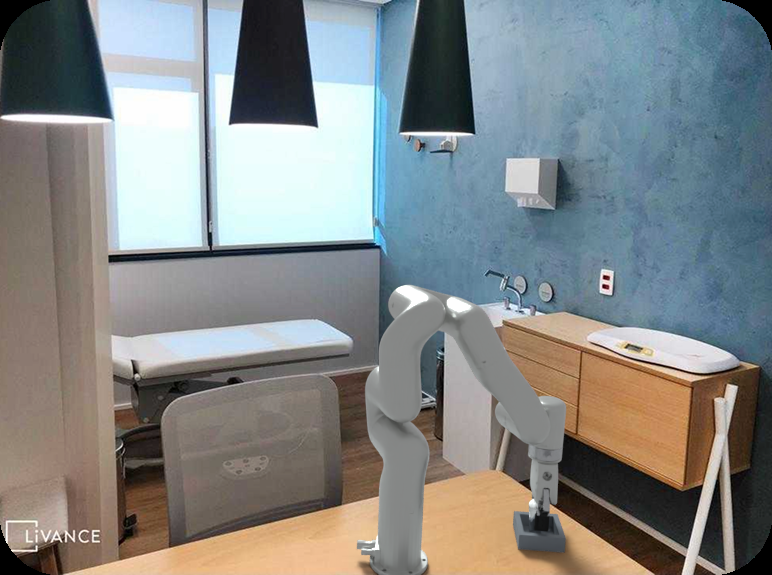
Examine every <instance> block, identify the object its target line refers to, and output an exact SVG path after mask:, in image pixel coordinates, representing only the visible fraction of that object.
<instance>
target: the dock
mask: <svg viewBox="0 0 772 575" xmlns="http://www.w3.org/2000/svg"><path fill="white" fill-rule="evenodd" d="M512 519H513V520H512V526H513V527H512V528H513V531H514V536H515V540H516V545H517V549H518V550H526V551H537V552H538V551H539V552H552V553H553V552H554V553H563V554H564V553H565V551H566V550H565V549H566V539H567V537H566V534H565V532H564V529H563V526H562V524H561V520H560V518H559V514H557V513H550V518H549V529H548V531H544V534H541V533H529V511H518V510H514V511H513V518H512Z"/></svg>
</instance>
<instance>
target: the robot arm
mask: <svg viewBox="0 0 772 575" xmlns="http://www.w3.org/2000/svg"><path fill="white" fill-rule="evenodd" d="M387 304H388V305H387V306H388V311H389V313H390V315H391V316H392V318H393V321H392V322H391V323H390V324H389V325H388V326H387V328H386V330H385V331H384V333H383V335H382V337H381V339H380V342H379V345H378V366H376V367H374V369H372V370H371V371H370V373H369V375H368V376H367V379H366V381H365V387H364V396H365V397H364V398H365V412H366V426H367V433H368V437H369V440H370V442H371V444H372V445H373V447H374V448H375V450H376V451H377V452H378V454H379V455H380V457H381V458H382V461H383V466H382V467H383V468H382V470H381V475H380V480H379V488H378V513H377V514H378V519H377V535H376V539H372V540H365V539H364V540H363V539H357V541H356V550H360V556H369V566H370V567H371V569H372V570H373V571H374V572H375V573H376V574H378V575H422V574H423V573H425V571H426V570H427V568H428V561H429V559H428V555H427V554H426V553H425V551H423V549H422V543H423V542H422V540H423V523H424V522H423V519H424V501H425V498H424V497H425V496H424V495H425V481H426V475H427V470H428V466H429V462H430V453H431V452H430V447H429V443H428V441H427V439H426V437H425V435H424V434H423V433H422V431H421V430H420V429H419V428H418V427H417V426H416V425H415V424H414V423H413V422H412V421H414V420H415V419H416V418H418V417H417V416H418V415H419V414H420V411H421V409H422V407H423V406H422V405H423V402H422V401H423V397H422V396H423V393H422V378H421V375H422V374H421V356H422V355H421V354H422V351H423V348H424V346H425V345H426V343H427V342H428V340H429V339H430V338H431V337H432V336H433V335H435V334H436V333H437V332H442V333H445V334H447V335H449V336H450V337H451V338H452V339H453V340H454V341H455V343H456V344H457V346H458V349H459V350H460V351H461V354H462V356H463V357H464V360H465V361H466V362H467V365H468V366H469V368H470V370H471V372H472V373H473V376H474V377H475V379H477V381H478V382H479V384H480V385H481V386H482V387H483V388H484V389H485V390H486V391H487V392H489V393H490V394H491V395H492V396H493V397H494V398H495V399H496V400H497V401H498V403H497V404H496V405H495V408H494V415H495V418H496V420H497V422H498V424H499V425H501V426H502V427H503V428H505V430H506V431H508V432H509V433H511V434H513V435H514V436H515V437H517V438H518V439H519V440H520V441H521V442H523V443H525V444H527V445H528V452H527V456H528V458H529V459H531V463H530V464H531V465H530V476H529V477H530V479H529V486H530V489H531V500H532V499H534V500H535V502H536V503H537V513H535V521H534V530H535V531H548V529H549V518H550V514H551V513H550V512H551V504H552V505H554V506H556V504H557V503H558V486H559V485H558V484H559V464H558V463H560V462H562V458H563V448H564V438H565V437H564V436H565V427H566V417H567V416H566V415H567V405H566V403H565V401H564V400H562V399H561V398H559V397H556V396H553V395H552V396H550V395H541V396H538V395H537V393H536V391H535V389H534V388H533V387H532V386H531V385H530V383H529V381H528V380H527V379H526V378H525V377H524V374H522V372H521V371H520V369H519V368H518V367H517V365H516V364H515V363H514V362H513V360H512V359H511V357H510V355H509V353H508V351H507V350H506V348H505V346H504V343H503V342H502V340H501V338H500V336H499V334H498V333H497V331H496V329H495V327H494V324H493V323H492V321H491V318H490V317H489V316H488V314H487V312H486V311H485V309H483V308H482V307H480V306H479V305H478V304H475V303H473V302H472V301H468V300H466V299H464V298H462V297H459V296H456V295H455V296H454V295H451V294H446V293H443V292H439V291H436V290H433V289H428V288H424V287H420V286H417V285H413V284H405V285H401V286H399V287H397V288H396V289H394V290H393V292H392V293H391V294H390V297H389V298H388V303H387ZM540 499H542V500H543V501H539V500H540ZM550 501H551V503H550ZM540 505H543V507H542V508H541V509H540Z"/></svg>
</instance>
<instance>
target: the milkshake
mask: <svg viewBox="0 0 772 575" xmlns="http://www.w3.org/2000/svg"><path fill="white" fill-rule="evenodd" d="M539 501H543V500H542V499H540V500H539ZM550 504H552V503H551V500H550ZM542 507H543V505H540V509H541V508H542ZM528 512H529V533H541V534H544V531H535V530H534V521H535V513H537V503H536V502H535V500H534V499H532V498H531V499H530V501H529V502H528Z"/></svg>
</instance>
